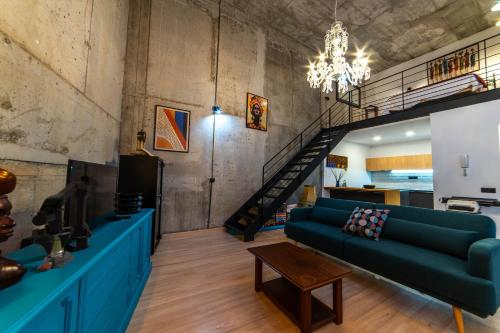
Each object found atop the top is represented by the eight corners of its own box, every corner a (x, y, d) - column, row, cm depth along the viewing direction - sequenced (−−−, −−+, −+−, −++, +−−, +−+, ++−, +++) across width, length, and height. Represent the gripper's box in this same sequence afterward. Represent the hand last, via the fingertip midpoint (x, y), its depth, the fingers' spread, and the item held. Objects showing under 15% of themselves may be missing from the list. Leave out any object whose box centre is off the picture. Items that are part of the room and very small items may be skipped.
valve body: (56, 259, 109) (56, 251, 109) (77, 257, 111) (76, 248, 111) (33, 272, 95) (32, 262, 95) (57, 269, 97) (57, 259, 97)
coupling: (55, 259, 105) (54, 250, 105) (66, 257, 106) (66, 248, 106) (47, 263, 100) (46, 254, 100) (59, 262, 101) (58, 252, 101)
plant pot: (47, 260, 109) (46, 244, 109) (42, 257, 113) (41, 241, 114) (69, 253, 117) (68, 238, 117) (63, 250, 121) (63, 236, 122)
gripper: (51, 218, 111) (52, 246, 111) (19, 227, 93) (20, 261, 92) (74, 216, 113) (75, 243, 113) (47, 225, 95) (48, 257, 94)
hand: (56, 251), depth 103 cm, fingers open, 9 cm apart
